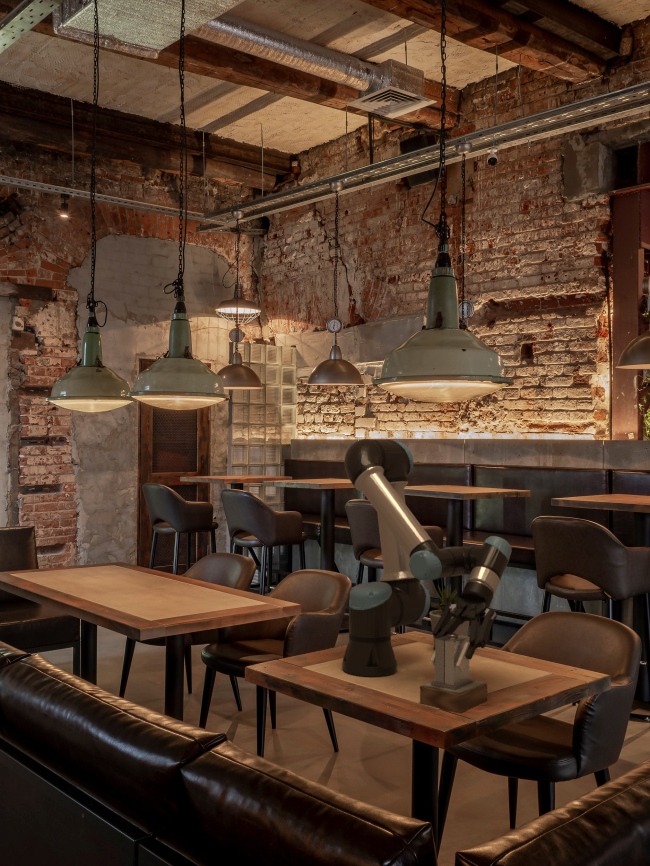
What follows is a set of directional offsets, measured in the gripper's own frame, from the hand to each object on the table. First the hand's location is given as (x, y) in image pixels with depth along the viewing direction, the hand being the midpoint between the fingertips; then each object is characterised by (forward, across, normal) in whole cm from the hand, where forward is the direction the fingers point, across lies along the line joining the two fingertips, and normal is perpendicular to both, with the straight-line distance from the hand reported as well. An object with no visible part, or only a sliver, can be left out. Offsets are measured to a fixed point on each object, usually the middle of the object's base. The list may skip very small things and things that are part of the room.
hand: (446, 666), depth 190 cm
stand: (+4, 0, -9) cm, 10 cm away
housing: (+1, 0, -6) cm, 6 cm away
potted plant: (-27, +26, -40) cm, 55 cm away
